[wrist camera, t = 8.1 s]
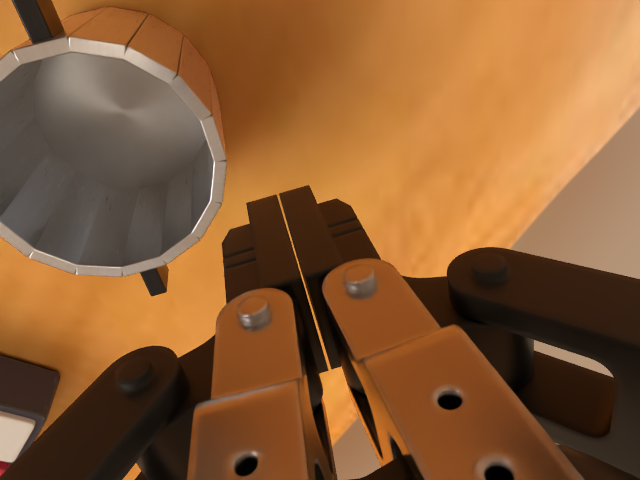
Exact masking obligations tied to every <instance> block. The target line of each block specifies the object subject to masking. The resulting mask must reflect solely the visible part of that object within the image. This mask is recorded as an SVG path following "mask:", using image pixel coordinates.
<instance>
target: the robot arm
mask: <svg viewBox="0 0 640 480" xmlns="http://www.w3.org/2000/svg"><path fill="white" fill-rule="evenodd" d="M279 195H280V199H281V203H282V206H283V210H284V213H285V216H286V220H287V223H288V227H289V230H290V234H291V237H292V241H293V244H294V248H295V251H296V255H297V258H298V261H299V265H300V268H301V271H302V275H303V278H304V281H305V285H306V288H307V291H308V294H309V298H310V301H311V304H312V307H313V310H314V314H315V317H316V320H317V323H318V327H319V330H320V333H321V336H322V340H323V343H324V346H325V349H326V353H327V356H328V359H329V362H330V366H331V369H334V368H337V367H341V366H342V369H343V372H344V375H345V378H346V381H347V385H348V388H349V392H350V396H351V399H352V401H353V404H354V406H355V408H356V411H357V413H358V415H359V417H360V420H361V422H362V424H363V426H364V429H365V431H366V433H367V435H368V438H369V440H370V442H371V444H372V447H373V449H374V451H375V453H376V456H377V458H378V460H379V463H380V465H381V468H379V469H377V470H376V471H374V472H373V473H371V474H369V475H367V476H365V477H363V478H360V479H351V480H640V279H636V278H631V277H627V276H623V275H618V274H614V273H610V272H605V271H601V270H596V269H592V268H588V267H584V266H579V265H575V264H571V263H566V262H562V261H557V260H553V259H548V258H544V257H540V256H535V255H531V254H527V253H522V252H518V251H514V250H509V249H504V248H496V247H486V248H478V249H474V250H470V251H467V252H465V253H463V254H461V255H459V256H458V257H456V258H455V259H454V260H453V261H452V262H451V263H450V265H449V266H448V269H447V276H446V277H433V278H411V277H405V276H402V275H400V273H399V272H398V271H397V269H396V268H395V267H394V266H393V265H391V264H390V263H388V262H386V261H383V260H381V258H380V257H379V255H378V253H377V251H376V250H375V248H374V246H373V244H372V243H371V241H370V239H369V237H368V236H367V234H366V232H365V230H364V229H363V227H362V225H361V223H360V221H359V220H358V219H357V216H356V214H355V213H354V211H353V209H352V207H351V206H350V205H348V204H346V203H344V202H342V201H340V200H338V199H333V200H330V201H326V202H323V203H319V204H317V202H316V200H315V197H314V195H313V193H312V191H311V188H310V186H309V185H307V186H304V187H300V188H297V189H293V190H290V191H286V192H283V193H279ZM246 204H247V210H248V216H249V221H250V224H247V225H244V226H240V227H237V228H233V229H230V230H229V232H228V234H227V236H226V237H225V239H224V241H223V242H222V250H223V258H224V259H223V263H224V277H225V290H226V303H227V304H226V305H225V306H224V308H223V309H222V310H221V311H220V313H219V315H218V317H217V321H216V333H215V335H214V336H213V337H212V338H211V339H209V340H208V341H207V342H205V343H204V344H202V345H201V346H199V347H197V348H196V349H194V350H192V351H190V352H188V353H186V354H185V355H183V356H181V357H179V358H177V356H176V354H175V353H174V352H173V351H172V350H171V349H169V348H167V347H163V346H149V347H144V348H140V349H137V350H134V351H132V352H130V353H128V354H126V355H124V356H122V357H121V358H119V359H118V360H116V361H115V362H114V363H112V364H111V365H110V366H109V367H108V368H107V369H106V370H105V371H104V372H103V373H102V374H101V375H100V376H99V377H98V378H97V379H96V380H95V381H94V382H93V383H92V384H91V385H90V386H89V387H88V388H87V389H86V390H85V391H84V392H83V393H82V394H81V395H80V396H79V397H78V398H77V399H76V400H75V401H74V402H73V403H72V404H71V405H70V406H69V407H68V408H67V409H66V410H65V411H64V412H63V413H62V414H61V415H60V416H59V417H58V418H57V420H56V421H55V422H54V423H53V424H52V425H51V426H50V427H49V428H48V429H47V430H46V431H45V432H44V433H43V434H42V435H41V436H40V437H39V438H38V439H37V440H36V441H35V442H34V443H33V444H32V445H31V446H30V447H29V448H28V449H27V450H26V451H25V452H24V453H23V454H22V455H21V456H20V457H19V458H18V459H17V460H16V461H15V462H14V463H13V464H12V465H11V466H10V467H9V468H8V469H7V470H6V471H5V472H4V473H3V474H2V475H1V476H0V480H122V479H123V478H124V477H125V476H126V474H127V473H128V472H129V471H130V469H131V468H132V467H133V466H134V464H135V463H137V465H138V466H139V468H140V469H141V472H140V474H139V475H138V476H137V478H136V479H135V480H337V474H336V469H335V463H334V457H333V451H332V445H331V439H330V433H329V427H328V421H327V415H326V409H325V405H324V402H323V399H322V395H323V388H322V383H321V380H320V376H319V373H322V372H325V371H328V367H327V364H326V360H325V357H324V353H323V350H322V347H321V343H320V340H319V336H318V333H317V329H316V326H315V322H314V319H313V316H312V312H311V309H310V305H309V302H308V298H307V295H306V291H305V288H304V284H303V281H302V278H301V274H300V271H299V268H298V264H297V261H296V258H295V254H294V251H293V248H292V245H291V241H290V238H289V235H288V231H287V228H286V225H285V221H284V218H283V215H282V211H281V208H280V205H279V202H278V198H277V195H273V196H269V197H266V198H262V199H259V200H255V201H252V202H248V203H246ZM534 340H537V341H539V342H543V343H546V344H548V345H552V346H555V347H558V348H561V349H564V350H567V351H570V352H573V353H576V354H579V355H582V356H585V357H588V358H591V359H593V360H596V361H597V362H599V363H601V364H602V365H604V366H605V367H606V368H607V369H608V370H609V371H610V372H611V373H612V375H613V377H614V378H613V377H610V376H607V375H604V374H601V373H598V372H595V371H592V370H589V369H587V368H584V367H581V366H578V365H575V364H572V363H569V362H566V361H563V360H560V359H557V358H554V357H551V356H549V355H545V354H543V353H540V352H537V351H534ZM555 443H557V444H555ZM558 444H559V445H558Z"/></svg>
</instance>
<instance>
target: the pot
mask: <svg viewBox="0 0 640 480" xmlns="http://www.w3.org/2000/svg"><path fill="white" fill-rule="evenodd" d="M12 2H13V4H14V6H15V8H16V10H17V12H18V15H19V17H20V19H21V21H22V23H23V25H24V27H25V29H26V32H27V34H28V36H29V38H30V39H29V40H28V41H26V42H24V43H23V44H21V45H19V46H17V47H16V48H14V49H12V50H10V51H9V52H8V53H7V54H5V55H4V56H3V57H2V58H1V59H0V236H1V237H2V238H3V239H4V240H6V241H7V242H8V243H10V244H11V245H12V246H13V247H15V248H16V249H17V250H19V251H20V252H21V253H22V254H24V255H25V256H29V258H30V259H33V260H36V261H38V262H41V263H44V264H47V265H49V266H52V267H55V268H58V269H60V270H63V271H66V272H69V273H71V274H75V273H76V275H88V276H110V277H122V276H129V275H132V274H136V273H139V272H140V274H141V276H142V278H143V280H144V282H145V284H146V287H147V289H148V291H149V293H150V295H151V296H155V295H158V294H162V293H165V292H167V282H168V271H169V270H168V267H167V265H166V263H167V264H168V263H170V262H171V261H172V260H174V259H175V258H177V257H178V256H179V255H181V254H182V253H183V252H185V251H186V250H187V249H189V248H190V247H192V246H193V245H194V244H196V243H197V242H198V241H200V238H202V237H203V236H204V234H205V232H206V231H207V229H208V227H209V225H210V224H211V222H212V220H213V219H214V217H215V215H216V214H217V212H218V210H219V209H220V207H221V205H222V202H223V195H224V186H225V177H226V167H227V157H226V150H225V142H224V134H223V127H222V119H221V112H220V104H219V97H218V94H217V91H216V88H215V84H214V81H213V78H212V75H211V72H210V68H209V66H208V64H207V63H206V61H205V60H204V59H203V58H202V56H201V55H200V54H199V53H198V51H197V50H196V49H195V47H194V46H193V45H192V44H191V42H190V41H189V40H188V39H187V37H186V36H185V35H184V36H183V33H181V32H179V31H178V30H176V29H174V28H173V27H171V26H169V25H168V24H166V23H164V22H163V21H161V20H159V19H158V18H156V17H154V16H153V15H151V14H149V15H148V13H144V12H138V11H133V10H127V9H121V8H115V7H104V8H100V9H96V10H91V11H87V12H83V13H79V14H75V15H71V16H70V17H67V18H66V19H64V20H62V21H60V19H59V17H58V14H57V12H56V10H55V8H54V5H53V3H52V1H51V0H12Z"/></svg>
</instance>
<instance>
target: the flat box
mask: <svg viewBox="0 0 640 480" xmlns="http://www.w3.org/2000/svg"><path fill="white" fill-rule="evenodd" d="M59 380H60V375H59V374H58V373H57V372H55V371H51V370H48V369H45V368H41V367H38V366H35V365H31V364H28V363H24V362H21V361H18V360H14V359H11V358H7V357H4V356H1V355H0V476H1V475H2V474H3V473H4V472H5V471H6V470H7V469H8V468H9V467H10V466H11V465H12V464H13V463H14V462H15V461H16V460H17V459H18V458H19V457H20V456H21V455H22V454H23V453H24V452H25V451H26V450H27V449H28V448H29V447H30V446H31V445H32V444H33V442H34V440H35V439H36V437H37V435H38V434H39V432H40V430H41V429H42V427H43V425H44V423H45V422H46V419H47V417H48V414H49V411H50V408H51V404H52V401H53V398H54V395H55V392H56V389H57V386H58V383H59Z"/></svg>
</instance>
